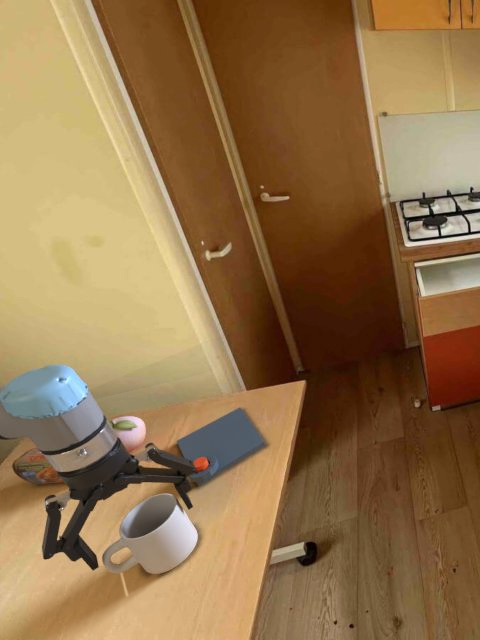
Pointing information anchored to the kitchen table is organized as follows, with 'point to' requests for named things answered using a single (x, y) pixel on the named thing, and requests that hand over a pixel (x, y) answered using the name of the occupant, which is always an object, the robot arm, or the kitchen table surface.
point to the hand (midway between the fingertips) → (144, 531)
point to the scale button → (201, 464)
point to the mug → (154, 536)
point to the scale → (221, 444)
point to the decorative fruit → (129, 431)
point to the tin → (35, 468)
